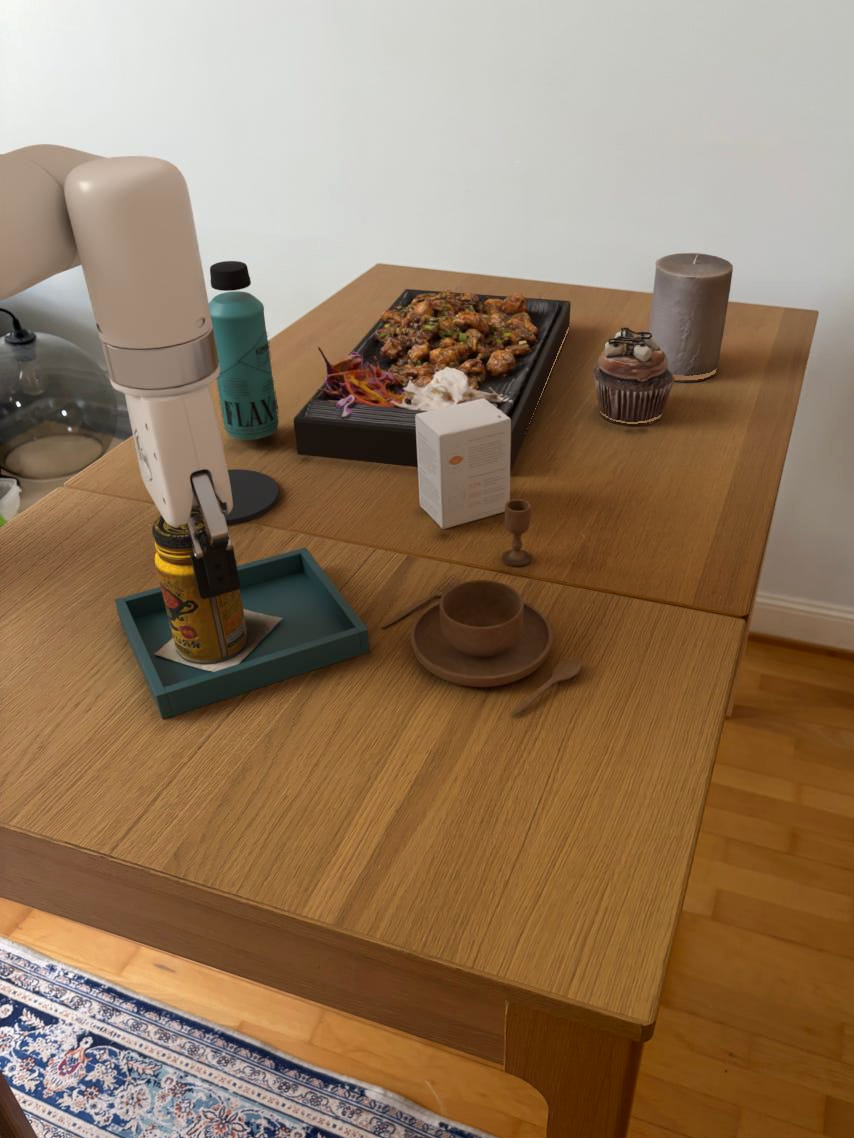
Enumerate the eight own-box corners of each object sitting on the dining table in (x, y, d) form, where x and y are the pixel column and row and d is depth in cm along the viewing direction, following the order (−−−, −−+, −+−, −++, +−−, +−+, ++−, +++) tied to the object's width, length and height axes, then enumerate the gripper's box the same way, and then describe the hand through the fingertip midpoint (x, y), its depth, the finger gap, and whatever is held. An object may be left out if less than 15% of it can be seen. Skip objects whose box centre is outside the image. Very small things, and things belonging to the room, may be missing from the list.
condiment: (153, 656, 82) (121, 532, 74) (214, 602, 88) (189, 483, 80) (226, 678, 79) (200, 553, 72) (283, 621, 85) (264, 500, 78)
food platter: (508, 476, 107) (510, 387, 101) (297, 453, 111) (286, 367, 105) (569, 331, 142) (573, 258, 136) (406, 318, 146) (403, 247, 140)
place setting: (358, 636, 84) (352, 580, 81) (510, 545, 96) (512, 492, 92) (510, 731, 75) (512, 671, 71) (659, 617, 87) (667, 561, 83)
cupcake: (664, 433, 116) (674, 351, 109) (583, 424, 118) (589, 342, 112) (674, 401, 123) (684, 322, 117) (598, 392, 125) (604, 314, 119)
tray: (162, 719, 76) (156, 696, 75) (120, 621, 86) (113, 599, 85) (370, 652, 83) (368, 629, 81) (308, 568, 93) (305, 546, 91)
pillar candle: (715, 356, 134) (732, 243, 125) (719, 385, 127) (738, 267, 118) (644, 353, 136) (656, 240, 126) (643, 381, 128) (656, 263, 119)
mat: (189, 535, 97) (188, 530, 97) (161, 488, 105) (160, 483, 105) (294, 509, 102) (293, 504, 101) (260, 465, 109) (259, 460, 109)
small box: (485, 488, 105) (485, 396, 99) (510, 512, 101) (513, 417, 95) (417, 506, 102) (413, 412, 96) (441, 531, 98) (439, 434, 92)
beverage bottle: (221, 453, 112) (189, 274, 99) (231, 427, 117) (202, 255, 105) (278, 452, 112) (254, 274, 100) (285, 426, 117) (263, 254, 105)
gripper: (82, 327, 73) (136, 535, 84) (136, 413, 61) (191, 642, 72) (182, 309, 75) (221, 513, 86) (253, 388, 63) (288, 613, 74)
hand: (207, 570), depth 79 cm, fingers closed on condiment, 6 cm apart
